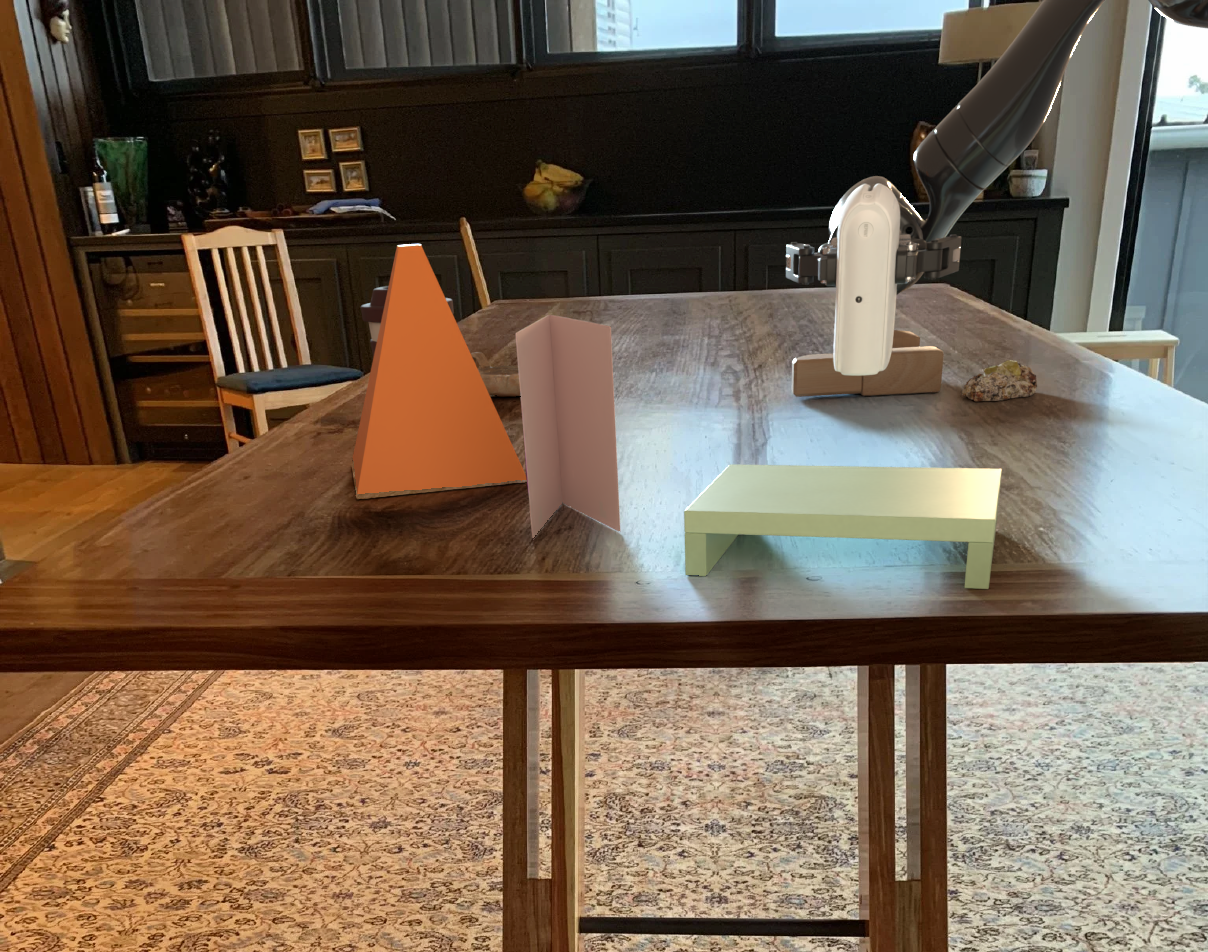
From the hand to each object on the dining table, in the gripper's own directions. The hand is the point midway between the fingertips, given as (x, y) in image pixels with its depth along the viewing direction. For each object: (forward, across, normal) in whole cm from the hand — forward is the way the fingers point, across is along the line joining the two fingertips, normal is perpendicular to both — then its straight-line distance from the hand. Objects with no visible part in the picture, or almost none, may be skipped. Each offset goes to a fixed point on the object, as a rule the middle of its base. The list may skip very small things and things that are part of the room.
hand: (865, 268), depth 86 cm
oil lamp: (-57, +47, -18) cm, 76 cm away
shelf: (+11, 0, -18) cm, 21 cm away
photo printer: (-3, 0, -7) cm, 8 cm away
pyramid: (-13, +40, -18) cm, 46 cm away
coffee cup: (-35, +50, -18) cm, 64 cm away
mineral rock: (-53, -13, -18) cm, 57 cm away
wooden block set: (-61, +3, -18) cm, 63 cm away
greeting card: (+3, +22, -18) cm, 28 cm away
